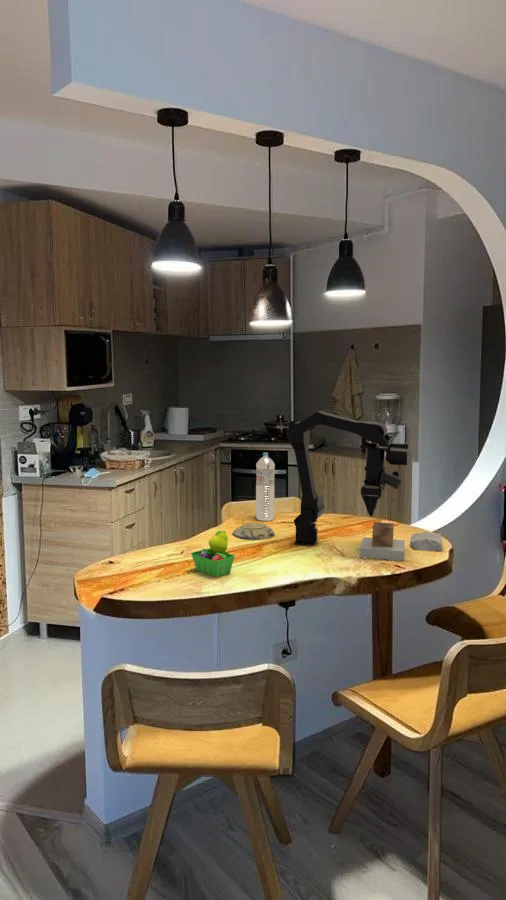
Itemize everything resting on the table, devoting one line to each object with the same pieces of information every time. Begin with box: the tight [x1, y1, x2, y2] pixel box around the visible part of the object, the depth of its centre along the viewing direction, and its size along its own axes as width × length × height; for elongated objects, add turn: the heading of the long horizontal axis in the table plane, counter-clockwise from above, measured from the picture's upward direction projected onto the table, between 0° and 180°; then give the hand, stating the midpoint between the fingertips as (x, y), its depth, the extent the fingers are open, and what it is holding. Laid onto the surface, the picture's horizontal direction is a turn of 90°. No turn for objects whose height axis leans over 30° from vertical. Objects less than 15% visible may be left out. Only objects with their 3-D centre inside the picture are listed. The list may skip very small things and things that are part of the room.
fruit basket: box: [190, 529, 236, 578], centre depth 194 cm, size 11×9×11 cm
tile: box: [359, 536, 406, 562], centre depth 213 cm, size 13×13×3 cm
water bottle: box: [255, 452, 276, 522], centre depth 255 cm, size 7×7×25 cm
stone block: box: [409, 531, 443, 552], centre depth 222 cm, size 12×5×10 cm
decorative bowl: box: [231, 522, 276, 541], centre depth 235 cm, size 15×4×15 cm
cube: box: [371, 521, 395, 547], centre depth 212 cm, size 6×6×6 cm
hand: (372, 512), depth 215 cm, fingers open, 9 cm apart
